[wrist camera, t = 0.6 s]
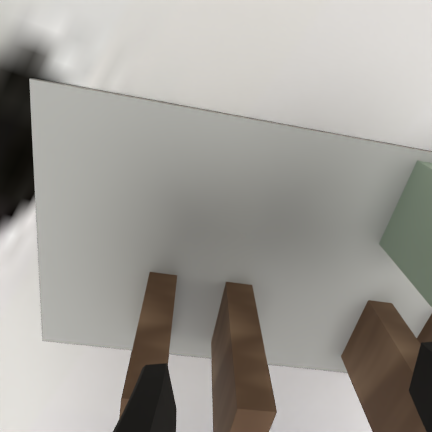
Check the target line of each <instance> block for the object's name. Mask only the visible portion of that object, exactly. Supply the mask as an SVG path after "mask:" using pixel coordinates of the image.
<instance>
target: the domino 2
mask: <svg viewBox="0 0 432 432" xmlns="http://www.w3.org/2000/svg"><path fill="white" fill-rule="evenodd" d="M211 359H212V399H213V432H269V430H270V428H271V425H272V423H273V420H274V418H275V415H276V413H277V411H276V405H275V400H274V395H273V390H272V385H271V379H270V374H269V369H268V364H267V359H266V354H265V348H264V343H263V338H262V333H261V328H260V323H259V317H258V312H257V307H256V302H255V297H254V291H253V286H252V285H248V284H241V283H233V282H226V284H225V288H224V292H223V296H222V300H221V304H220V308H219V312H218V316H217V320H216V324H215V328H214V332H213V336H212V341H211Z"/></svg>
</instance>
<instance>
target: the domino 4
mask: <svg viewBox="0 0 432 432" xmlns="http://www.w3.org/2000/svg"><path fill="white" fill-rule="evenodd" d="M417 340H418V341H419V343H420V344H421V343H422V342H432V314H431V316H430V317H429V319H428V321H427V322H426V324H425V326H424V327H423V329H422V331H421V332H420V334H419V335H418V337H417Z"/></svg>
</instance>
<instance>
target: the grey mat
mask: <svg viewBox="0 0 432 432" xmlns="http://www.w3.org/2000/svg"><path fill="white" fill-rule="evenodd" d="M29 80H30V101H31V121H32V141H33V162H34V182H35V202H36V222H37V243H38V263H39V283H40V303H41V324H42V341H48V342H57V343H67V344H76V345H86V346H95V347H105V348H114V349H124V350H132V349H133V344H134V340H135V335H136V331H137V326H138V322H139V317H140V313H141V309H142V304H143V300H144V295H145V291H146V286H147V282H148V277H149V273H150V272H156V273H163V274H171V275H177V283H176V292H175V301H174V311H173V320H172V329H171V339H170V348H169V354H172V355H181V356H191V357H200V358H210V359H211V341H212V336H213V332H214V328H215V324H216V320H217V316H218V312H219V308H220V304H221V300H222V296H223V292H224V288H225V284H226V282H233V283H241V284H248V285H252V286H253V291H254V297H255V302H256V307H257V312H258V317H259V323H260V328H261V333H262V338H263V343H264V348H265V354H266V359H267V364H268V365H277V366H286V367H296V368H305V369H315V370H324V371H334V372H343V373H348V372H347V370H346V368H345V365H344V363H343V360H342V358H341V355H342V353H343V351H344V349H345V347H346V345H347V343H348V341H349V339H350V337H351V335H352V332H353V330H354V328H355V326H356V324H357V322H358V320H359V318H360V316H361V314H362V312H363V310H364V308H365V306H366V304H367V302H368V300H371V301H379V302H387V303H392V304H393V305H394V307H395V308H396V309H397V311H398V312H399V314H400V315H401V317H402V318H403V320H404V321H405V322H406V324H407V325H408V327H409V328H410V330H411V331H412V332H413V334H414V335H415V337H416V338H417V337H418V335H419V334H420V332H421V331H422V329H423V327H424V326H425V324H426V322H427V321H428V319H429V317H430V316H431V314H432V307H431V306H430V305H429V304H428V303H427V301H426V300H425V299H424V298H423V296H422V295H421V294H420V293H419V292H418V290H417V289H416V288H415V287H414V286H413V284H412V283H411V282H410V281H409V280H408V278H407V277H406V276H405V275H404V274H403V272H402V271H401V270H400V269H399V268H398V266H397V265H396V264H395V263H394V261H393V260H392V259H391V258H390V257H389V255H388V254H387V253H386V252H385V251H384V249H383V248H382V247H381V246H380V245H379V242H380V240H381V238H382V236H383V234H384V232H385V229H386V227H387V225H388V223H389V221H390V219H391V216H392V214H393V212H394V210H395V208H396V206H397V203H398V201H399V199H400V197H401V195H402V192H403V190H404V188H405V186H406V184H407V182H408V179H409V177H410V175H411V173H412V171H413V169H414V166H415V164H416V162H417V160H418V161H423V162H429V163H432V151H427V150H421V149H416V148H410V147H405V146H399V145H394V144H389V143H383V142H378V141H372V140H367V139H361V138H356V137H350V136H345V135H340V134H334V133H329V132H323V131H318V130H312V129H307V128H301V127H296V126H291V125H285V124H280V123H274V122H269V121H263V120H258V119H252V118H247V117H242V116H236V115H231V114H225V113H220V112H214V111H209V110H203V109H198V108H193V107H187V106H182V105H176V104H171V103H165V102H160V101H154V100H149V99H144V98H138V97H133V96H127V95H122V94H116V93H111V92H105V91H100V90H95V89H89V88H84V87H78V86H73V85H67V84H62V83H56V82H51V81H46V80H40V79H35V78H31V79H29Z"/></svg>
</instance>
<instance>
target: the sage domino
mask: <svg viewBox="0 0 432 432" xmlns="http://www.w3.org/2000/svg"><path fill="white" fill-rule="evenodd" d="M379 245H380V246H381V247H382V248H383V249H384V251H385V252H386V253H387V254H388V255H389V257H390V258H391V259H392V260H393V261H394V263H395V264H396V265H397V266H398V268H399V269H400V270H401V271H402V272H403V274H404V275H405V276H406V277H407V278H408V280H409V281H410V282H411V283H412V284H413V286H414V287H415V288H416V289H417V290H418V292H419V293H420V294H421V295H422V296H423V298H424V299H425V300H426V301H427V303H428V304H429V305H430V306H431V307H432V163H429V162H423V161H418V160H417V162H416V164H415V166H414V169H413V171H412V173H411V175H410V177H409V179H408V182H407V184H406V186H405V188H404V190H403V192H402V195H401V197H400V199H399V201H398V203H397V206H396V208H395V210H394V212H393V214H392V216H391V219H390V221H389V223H388V225H387V227H386V229H385V232H384V234H383V236H382V238H381V240H380V242H379Z"/></svg>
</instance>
